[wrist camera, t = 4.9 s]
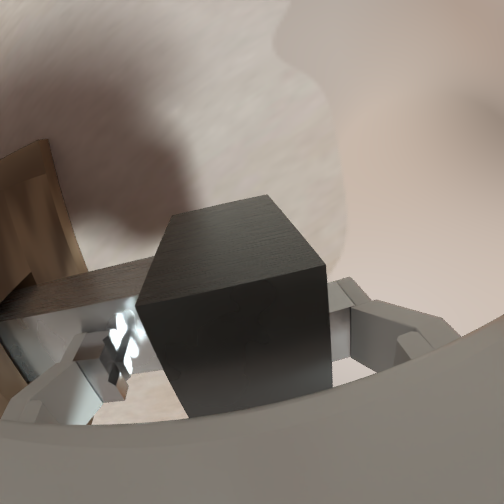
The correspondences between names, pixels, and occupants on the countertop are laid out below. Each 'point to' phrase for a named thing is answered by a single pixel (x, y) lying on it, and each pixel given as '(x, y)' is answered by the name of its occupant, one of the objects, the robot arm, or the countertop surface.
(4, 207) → the shaft stand
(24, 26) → the countertop surface
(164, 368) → the shaft
